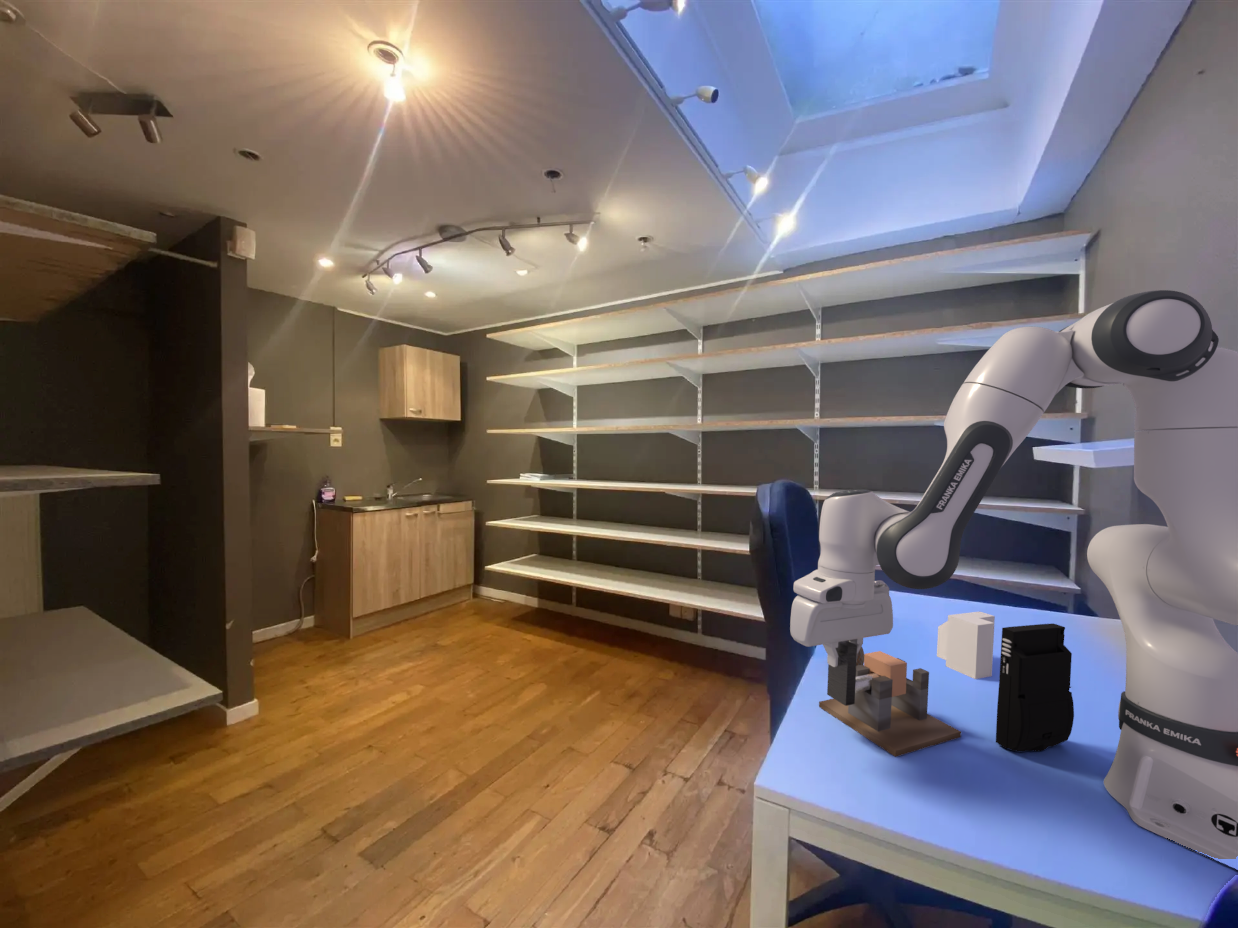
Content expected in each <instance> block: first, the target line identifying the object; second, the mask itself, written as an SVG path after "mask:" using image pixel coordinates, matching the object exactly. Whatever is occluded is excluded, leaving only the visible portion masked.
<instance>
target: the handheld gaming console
mask: <svg viewBox="0 0 1238 928" xmlns="http://www.w3.org/2000/svg"><path fill="white" fill-rule="evenodd" d="M1065 630H1066V627H1065V626H1063V625H1060V624H1057V623H1040V624H1038V623H1037V624H1029V625H1027V624H1025V625H1017V626H1006V627H1002V628H1001V644H1000V658H999V659H1000V661H999V663H1000V664H999V677H998V678H999V679H998V695H997V704H996V705H997V709H996V724H995V725H996V726H995V743H996V744H997V745H999V746H1001V747H1003V748H1005V749H1008V750H1010V751H1012V752H1016V753H1017V752H1020V753H1022V752H1023V753H1024V752H1043V751H1045V750H1047V749H1048V748H1049V747H1051V748H1053V747H1055V746H1057V745H1059V744H1062V743H1064V742H1067V741H1068V740H1069V738H1070V736H1071V734H1072V730H1073V726H1074V719H1075V711H1074V709H1075V708H1074V705H1075V704H1074V699H1073V694H1072V693H1073V692H1072V691H1070V689H1071V688H1072V686H1071V676H1072V675H1071V674H1072V655H1073V653H1072V652H1071V651H1070V650H1069V648H1068V647H1067V646H1066V645H1065Z"/></svg>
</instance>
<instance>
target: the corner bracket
mask: <svg viewBox="0 0 1238 928" xmlns="http://www.w3.org/2000/svg"><path fill="white" fill-rule="evenodd" d="M995 617H996V616H995V615H992V614H989V613H985V612H982V611H973V612H963V613H954V614H948V615H947V620H946V621H945V622H943V623H942V624H940V625H938V627H937V643H936V645H937V646H936V657H937V658H940V659H942V660H944V661H945V667H947V668H949V669H951V670H952V671H956V672H957V673H960V674H961V675H965V676H967V677H969V678H972V679H973V680H978V679H984V678H990V677H992V676H993V662H994V661H993V659H994V658H993V657H994V656H993V655H994V642H995V641H994V639H995V621H996V619H995Z"/></svg>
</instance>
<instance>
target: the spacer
mask: <svg viewBox="0 0 1238 928" xmlns="http://www.w3.org/2000/svg"><path fill="white" fill-rule="evenodd" d="M897 658H898V657H894V656H893V655H890V654H888V653H885V652H883V651H881V650H878V651H872V652H868V653H864V664H863V665H864V666H866V667H868V668H870V672H869V674H872V673H877V674H878V675H880V676H886V677H888V678H890V679H892V680H893V682H892V697H894V696H898V695H902V694H906V678H907V673H908V671H907V670H908V663H907V662H906V661H905V660H903V659H901V660H899V659H900V658H899V659H897ZM902 660H903V661H902ZM904 661H905V662H904Z"/></svg>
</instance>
